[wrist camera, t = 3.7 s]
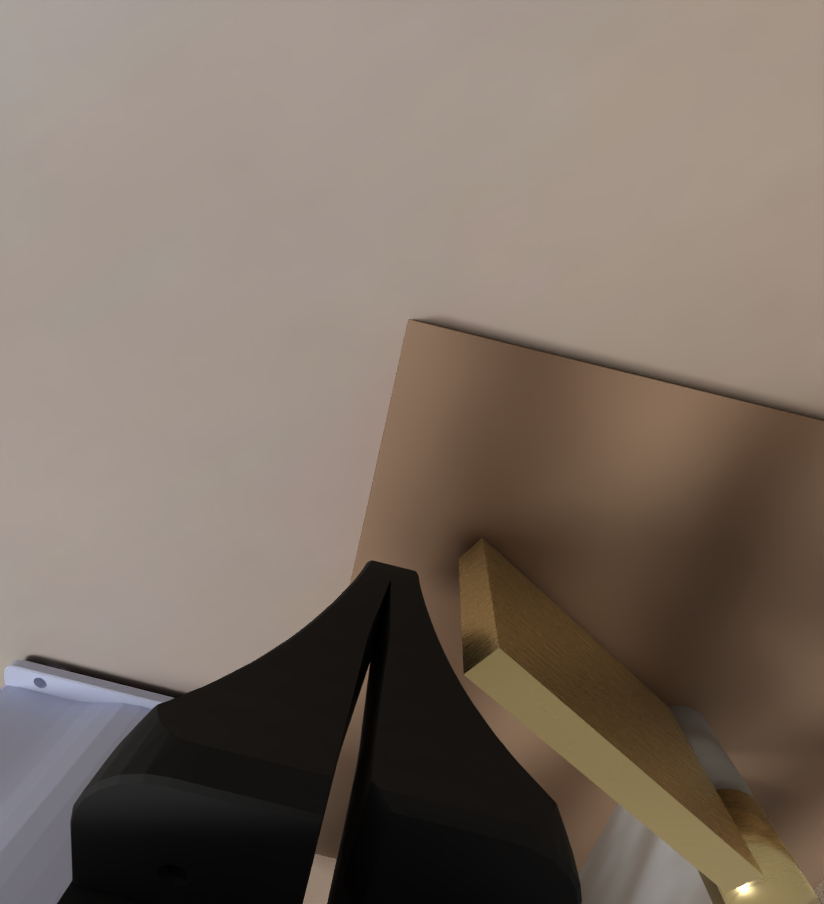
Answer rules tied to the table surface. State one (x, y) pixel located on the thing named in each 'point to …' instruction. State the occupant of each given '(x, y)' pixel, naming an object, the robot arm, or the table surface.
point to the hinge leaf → (615, 732)
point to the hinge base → (620, 573)
